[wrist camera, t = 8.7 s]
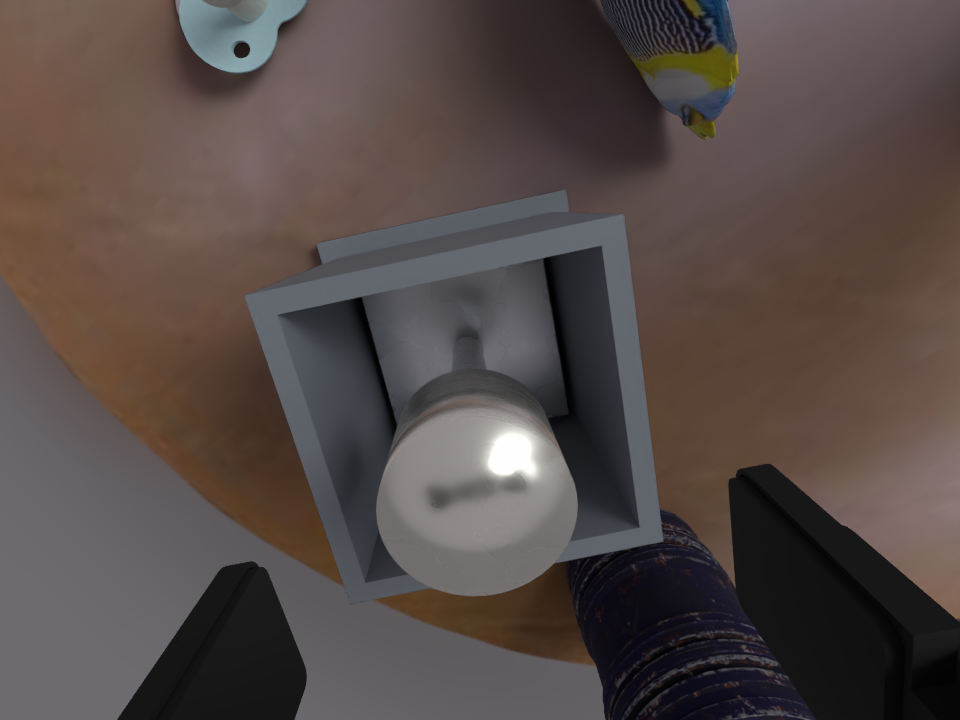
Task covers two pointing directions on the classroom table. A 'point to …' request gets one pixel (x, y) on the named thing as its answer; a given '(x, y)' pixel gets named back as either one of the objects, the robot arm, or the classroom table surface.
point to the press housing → (365, 400)
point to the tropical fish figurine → (681, 54)
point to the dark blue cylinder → (675, 635)
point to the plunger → (473, 430)
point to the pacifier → (235, 29)
